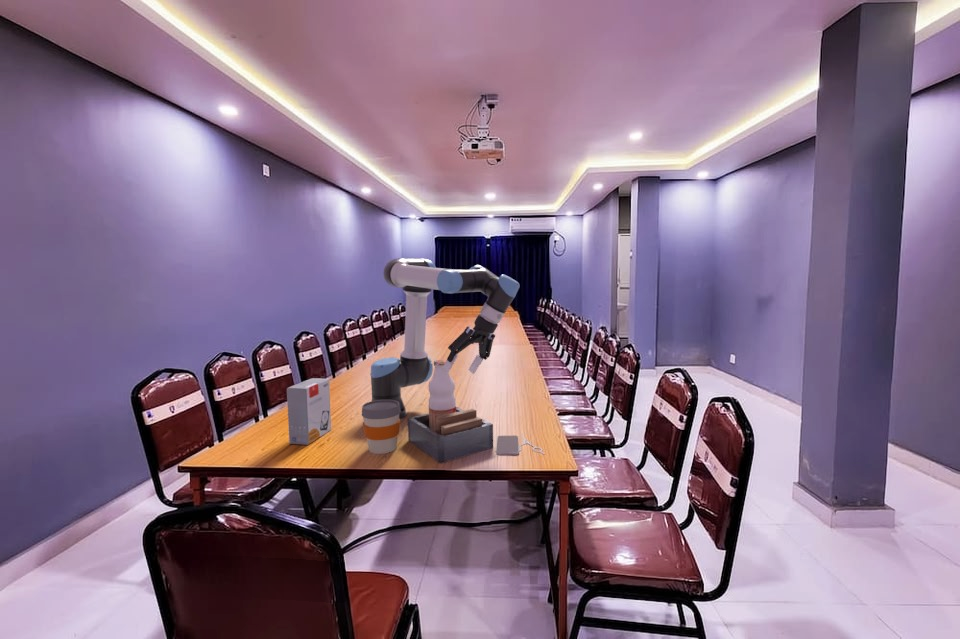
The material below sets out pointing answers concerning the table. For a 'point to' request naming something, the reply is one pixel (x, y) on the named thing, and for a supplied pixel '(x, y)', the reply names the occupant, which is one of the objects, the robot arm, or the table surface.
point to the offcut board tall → (454, 418)
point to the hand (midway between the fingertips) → (458, 370)
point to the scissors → (529, 444)
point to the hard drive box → (308, 410)
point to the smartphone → (507, 445)
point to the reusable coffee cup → (381, 425)
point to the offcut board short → (460, 425)
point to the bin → (449, 439)
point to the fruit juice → (440, 394)
